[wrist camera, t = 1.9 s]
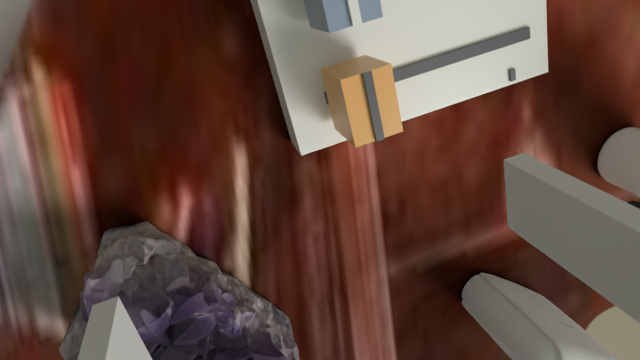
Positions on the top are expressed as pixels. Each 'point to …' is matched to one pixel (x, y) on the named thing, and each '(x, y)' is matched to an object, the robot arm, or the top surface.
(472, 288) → the white slotted device
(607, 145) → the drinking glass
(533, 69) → the fader console
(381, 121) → the orange fader
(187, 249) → the geode
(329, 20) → the slate fader
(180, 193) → the top surface
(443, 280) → the top surface
